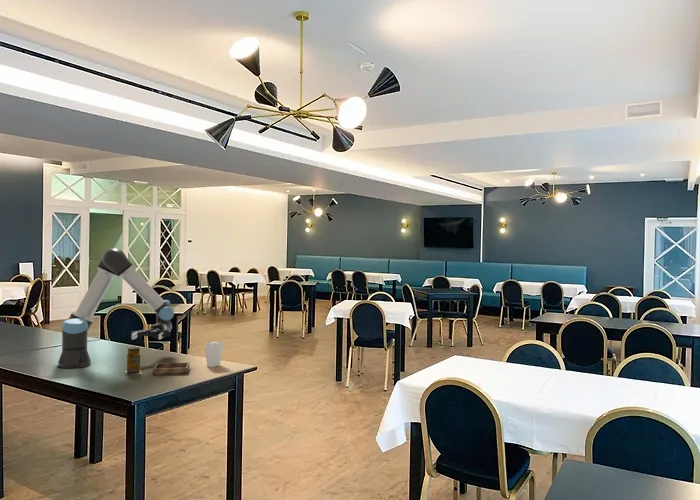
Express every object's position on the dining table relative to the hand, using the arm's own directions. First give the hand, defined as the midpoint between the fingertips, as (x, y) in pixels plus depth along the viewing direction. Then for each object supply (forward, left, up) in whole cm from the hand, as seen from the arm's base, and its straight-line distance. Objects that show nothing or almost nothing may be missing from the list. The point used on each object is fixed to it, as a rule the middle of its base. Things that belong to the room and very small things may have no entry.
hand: (145, 337), depth 284 cm
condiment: (-4, -13, -16) cm, 21 cm away
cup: (+34, -2, -16) cm, 38 cm away
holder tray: (+14, -13, -15) cm, 25 cm away
